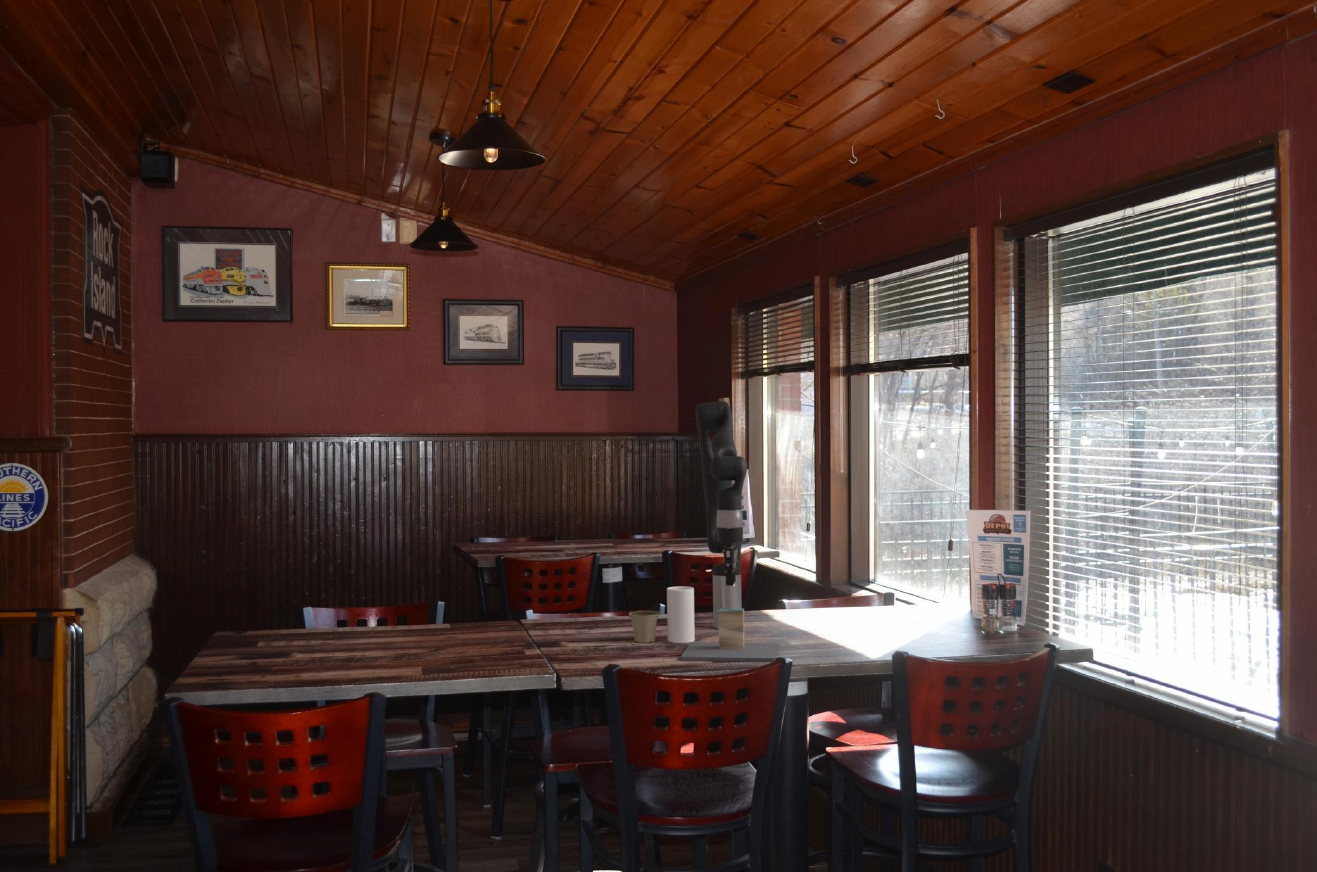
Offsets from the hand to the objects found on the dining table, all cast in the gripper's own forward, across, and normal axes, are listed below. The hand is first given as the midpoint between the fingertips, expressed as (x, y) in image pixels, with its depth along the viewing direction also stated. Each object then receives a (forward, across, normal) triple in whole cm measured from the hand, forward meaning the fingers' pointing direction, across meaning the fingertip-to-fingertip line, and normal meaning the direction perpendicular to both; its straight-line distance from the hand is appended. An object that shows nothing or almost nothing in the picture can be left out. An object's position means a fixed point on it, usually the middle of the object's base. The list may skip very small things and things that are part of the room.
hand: (730, 583), depth 309 cm
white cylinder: (+20, -16, -17) cm, 31 cm away
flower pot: (+20, -14, -28) cm, 37 cm away
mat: (+19, +3, 0) cm, 20 cm away
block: (+18, 0, 0) cm, 18 cm away
